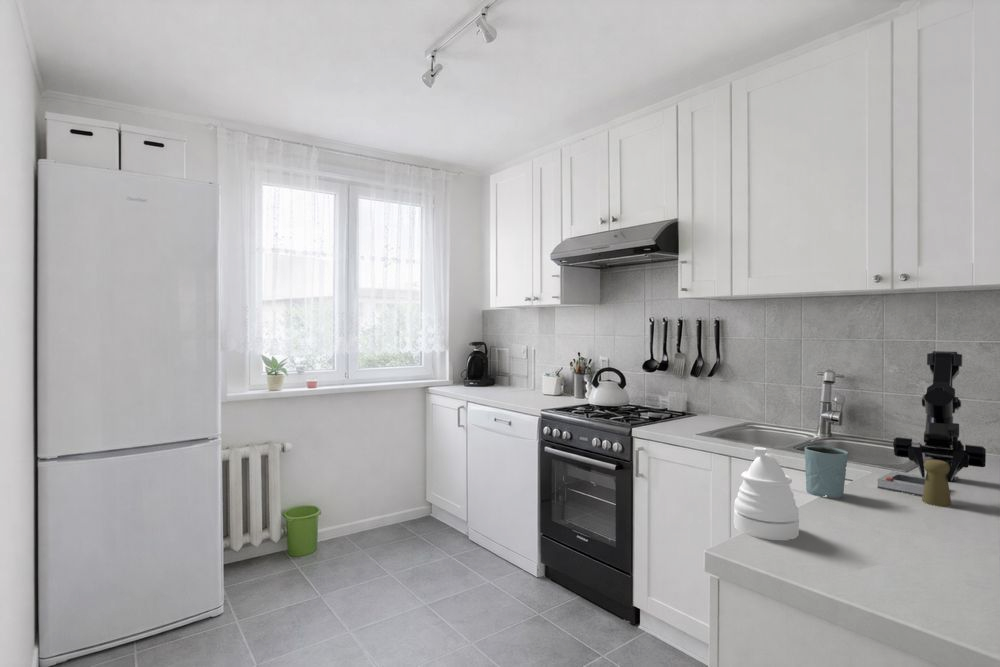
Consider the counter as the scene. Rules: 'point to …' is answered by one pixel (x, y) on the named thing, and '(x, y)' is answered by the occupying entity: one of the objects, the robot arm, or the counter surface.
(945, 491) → the cork
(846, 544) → the counter surface
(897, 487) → the socket plate
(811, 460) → the teal cup
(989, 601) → the counter surface
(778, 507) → the honey pot
